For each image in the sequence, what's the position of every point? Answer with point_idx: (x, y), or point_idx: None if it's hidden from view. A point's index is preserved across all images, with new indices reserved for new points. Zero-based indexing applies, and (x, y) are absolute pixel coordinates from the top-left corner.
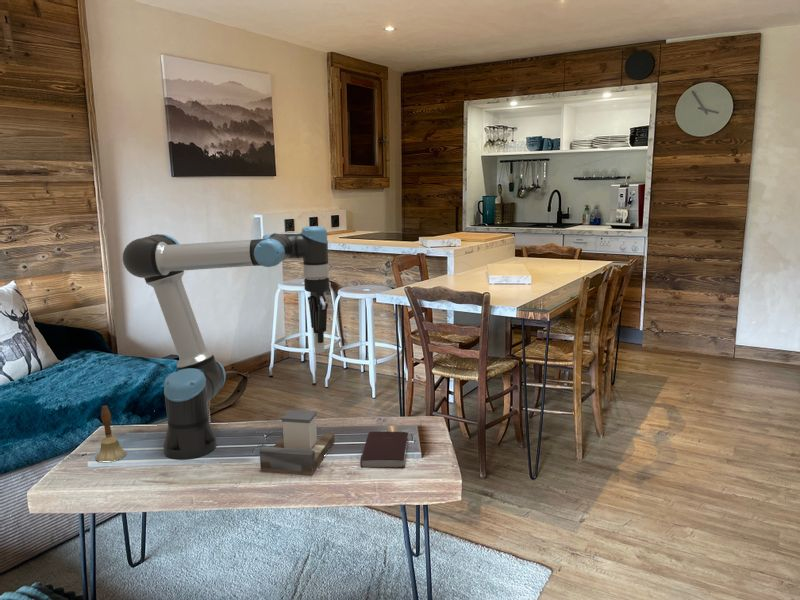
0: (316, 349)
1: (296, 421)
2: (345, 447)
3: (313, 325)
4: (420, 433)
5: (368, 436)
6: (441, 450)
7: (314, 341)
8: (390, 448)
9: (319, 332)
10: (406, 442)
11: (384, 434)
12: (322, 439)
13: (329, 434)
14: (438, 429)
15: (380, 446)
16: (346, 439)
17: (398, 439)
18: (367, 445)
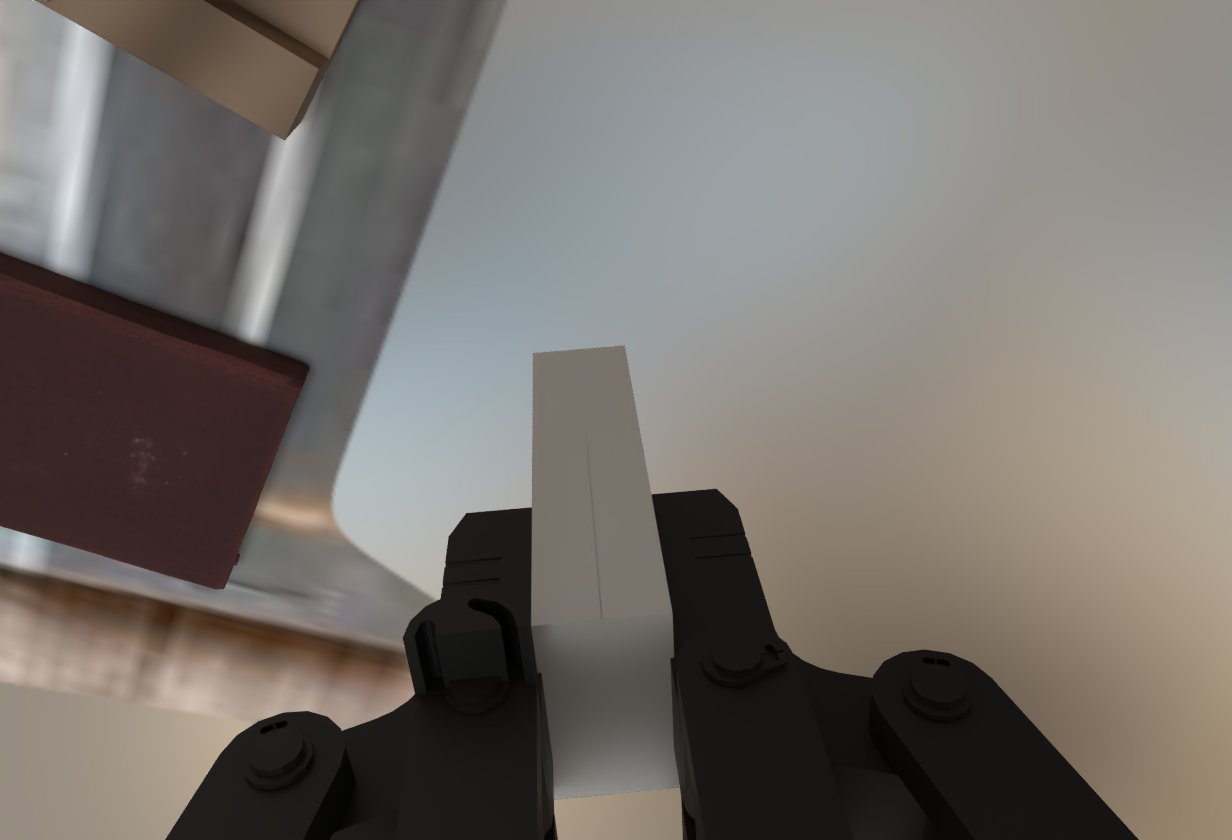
0: (534, 392)
1: None
2: (198, 176)
3: (779, 754)
4: (299, 637)
5: (217, 363)
6: (40, 662)
7: (643, 456)
8: None
9: (388, 724)
10: (64, 543)
11: (210, 463)
12: (183, 13)
13: (277, 98)
14: None
15: (4, 389)
16: (337, 219)
17: (105, 516)
18: (52, 316)
